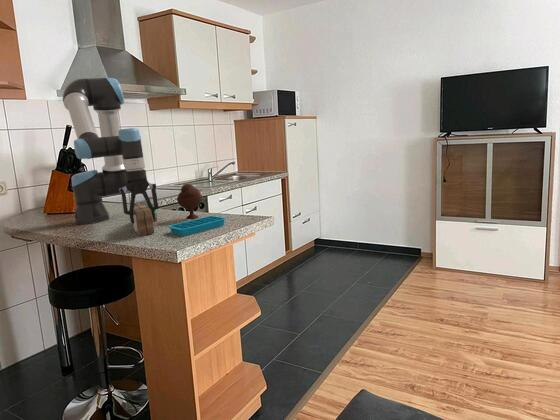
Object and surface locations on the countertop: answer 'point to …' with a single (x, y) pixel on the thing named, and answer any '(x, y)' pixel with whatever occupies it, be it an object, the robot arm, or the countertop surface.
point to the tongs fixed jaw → (140, 220)
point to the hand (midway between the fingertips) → (144, 229)
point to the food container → (148, 207)
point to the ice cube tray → (197, 225)
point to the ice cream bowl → (189, 199)
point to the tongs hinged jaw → (147, 218)
